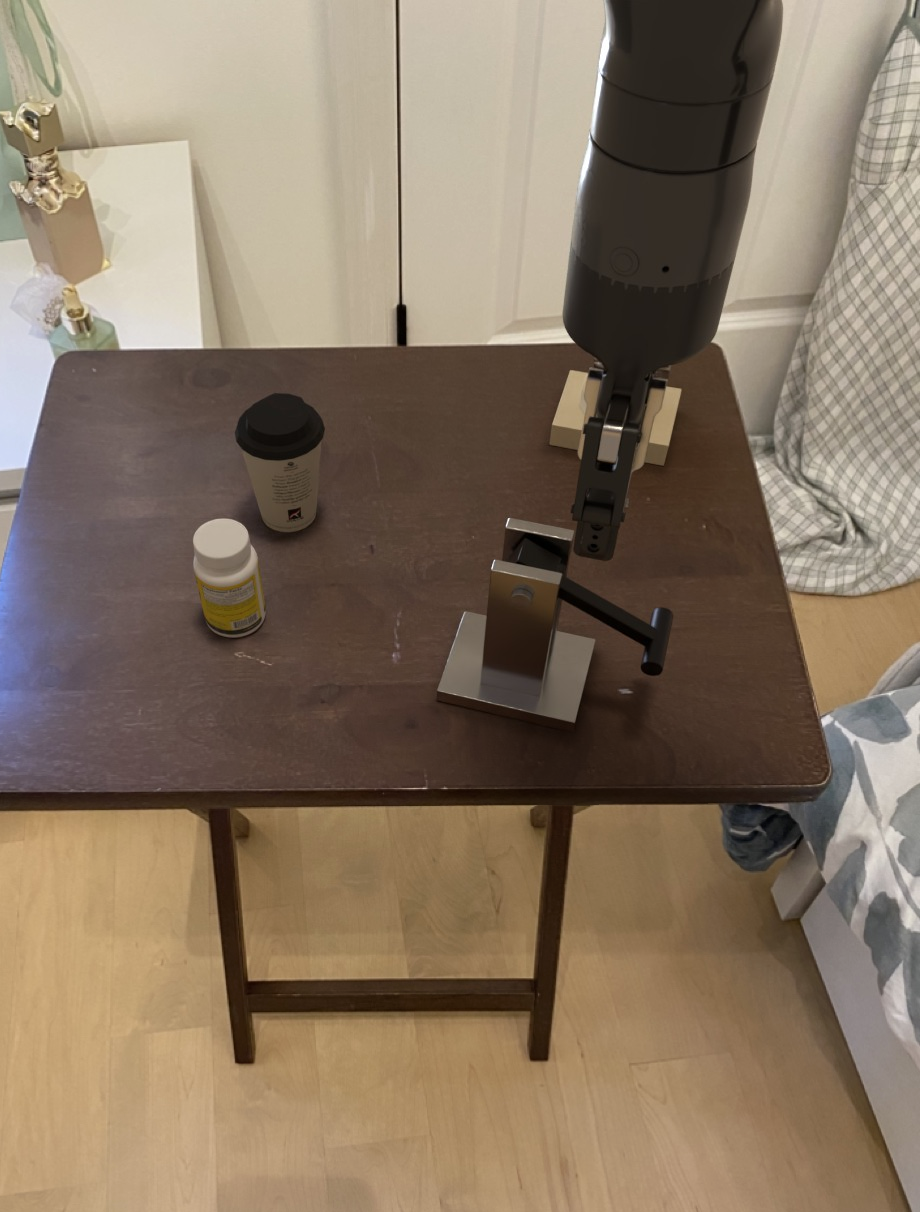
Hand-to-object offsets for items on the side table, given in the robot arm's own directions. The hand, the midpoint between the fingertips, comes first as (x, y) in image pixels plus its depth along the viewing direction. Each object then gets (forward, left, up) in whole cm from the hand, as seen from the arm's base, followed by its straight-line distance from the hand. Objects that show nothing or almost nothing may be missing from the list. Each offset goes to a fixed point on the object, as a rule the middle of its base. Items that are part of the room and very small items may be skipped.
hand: (606, 503), depth 63 cm
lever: (0, -2, -11) cm, 11 cm away
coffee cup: (+26, -13, -19) cm, 35 cm away
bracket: (+4, -2, -19) cm, 20 cm away
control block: (+2, -32, -19) cm, 37 cm away
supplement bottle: (+26, -1, -19) cm, 32 cm away
